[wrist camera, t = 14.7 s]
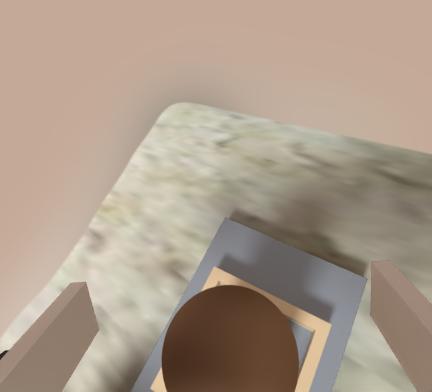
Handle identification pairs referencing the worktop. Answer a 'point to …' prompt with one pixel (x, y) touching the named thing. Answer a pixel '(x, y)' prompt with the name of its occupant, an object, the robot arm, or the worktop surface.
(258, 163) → the worktop surface
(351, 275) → the board
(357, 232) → the worktop surface
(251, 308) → the post
